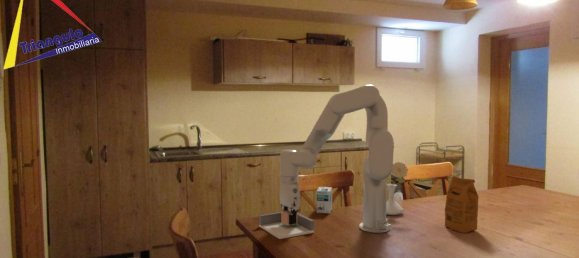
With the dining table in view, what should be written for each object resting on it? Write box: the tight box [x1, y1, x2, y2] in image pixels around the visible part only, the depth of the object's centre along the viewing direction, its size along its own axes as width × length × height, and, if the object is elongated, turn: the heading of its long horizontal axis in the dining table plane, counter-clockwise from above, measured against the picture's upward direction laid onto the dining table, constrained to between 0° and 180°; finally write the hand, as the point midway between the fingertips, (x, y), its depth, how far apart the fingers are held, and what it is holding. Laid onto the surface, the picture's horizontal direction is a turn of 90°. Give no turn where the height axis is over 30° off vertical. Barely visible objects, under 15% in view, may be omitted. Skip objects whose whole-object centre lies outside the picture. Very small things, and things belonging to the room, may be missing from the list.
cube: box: [280, 209, 299, 226], centre depth 169 cm, size 5×5×5 cm
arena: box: [258, 211, 315, 240], centre depth 168 cm, size 18×16×5 cm
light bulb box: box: [316, 186, 333, 214], centre depth 198 cm, size 11×7×11 cm, turn 169°
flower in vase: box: [386, 161, 409, 216], centre depth 191 cm, size 13×11×25 cm
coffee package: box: [444, 174, 480, 234], centre depth 168 cm, size 10×12×22 cm
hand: (289, 221), depth 170 cm, fingers closed on cube, 4 cm apart
